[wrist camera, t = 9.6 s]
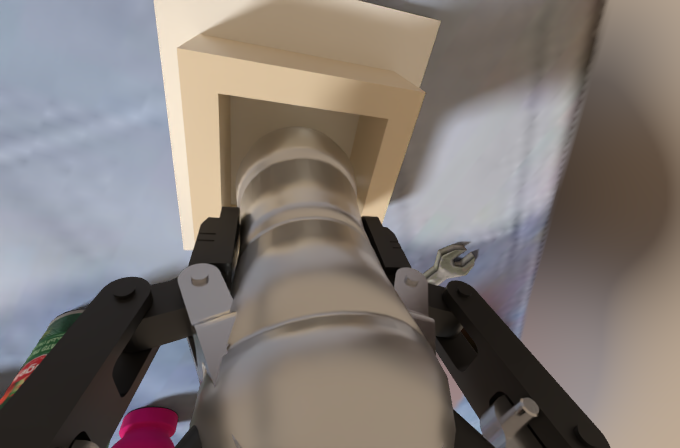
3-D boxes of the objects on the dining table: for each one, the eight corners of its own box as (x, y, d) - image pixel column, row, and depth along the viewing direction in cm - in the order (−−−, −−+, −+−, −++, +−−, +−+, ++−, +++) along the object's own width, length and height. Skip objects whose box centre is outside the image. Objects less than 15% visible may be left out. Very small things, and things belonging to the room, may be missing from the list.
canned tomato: (120, 366, 33) (66, 500, 24) (32, 341, 29) (-72, 494, 20) (164, 328, 31) (121, 462, 22) (75, 295, 26) (-21, 445, 18)
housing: (154, -50, 15) (99, -68, 10) (433, 19, 19) (489, 29, 14) (186, 241, 25) (166, 300, 20) (363, 247, 29) (381, 298, 24)
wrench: (476, 256, 33) (482, 263, 32) (345, 352, 40) (346, 360, 39) (453, 235, 30) (458, 242, 29) (317, 341, 37) (318, 350, 36)
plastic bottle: (216, 146, 18) (-198, 1236, 2) (321, 94, 17) (810, 1201, 1) (274, 224, 22) (269, 822, 6) (361, 184, 21) (614, 752, 5)
